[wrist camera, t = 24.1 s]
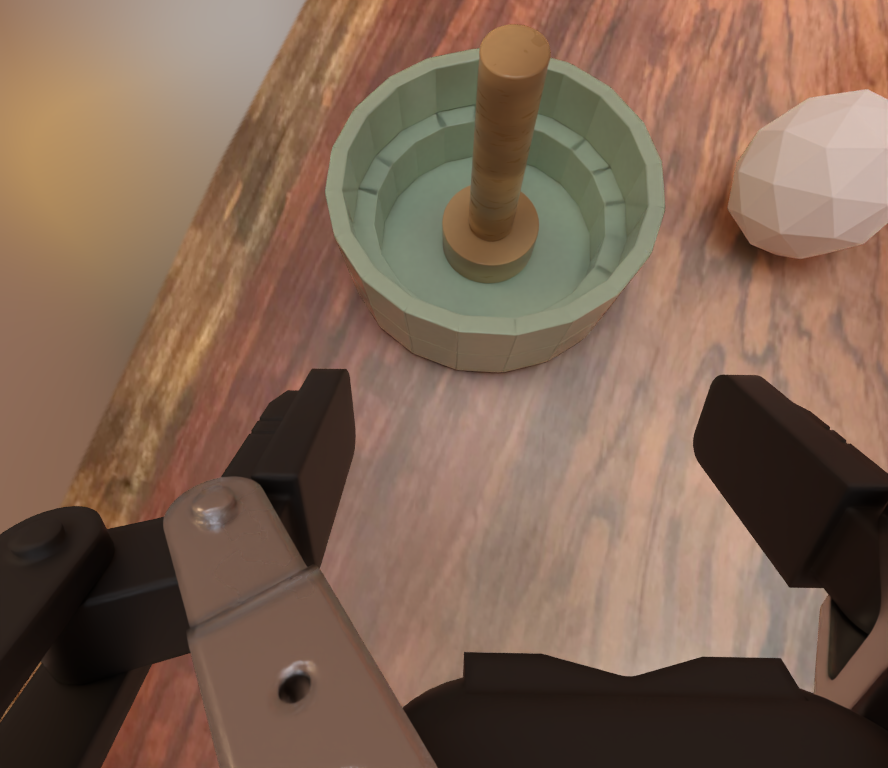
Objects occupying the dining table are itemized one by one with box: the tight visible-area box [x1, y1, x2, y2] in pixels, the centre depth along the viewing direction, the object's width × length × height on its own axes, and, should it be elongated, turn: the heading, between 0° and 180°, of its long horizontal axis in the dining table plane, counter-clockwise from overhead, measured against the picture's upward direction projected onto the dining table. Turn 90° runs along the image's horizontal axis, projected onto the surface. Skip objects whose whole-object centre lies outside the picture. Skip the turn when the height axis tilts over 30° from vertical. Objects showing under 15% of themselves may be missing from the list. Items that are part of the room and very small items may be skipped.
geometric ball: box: [727, 89, 888, 259], centre depth 24 cm, size 8×8×8 cm
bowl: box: [325, 48, 665, 373], centre depth 24 cm, size 16×16×6 cm
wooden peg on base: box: [442, 24, 551, 283], centre depth 21 cm, size 5×5×12 cm
